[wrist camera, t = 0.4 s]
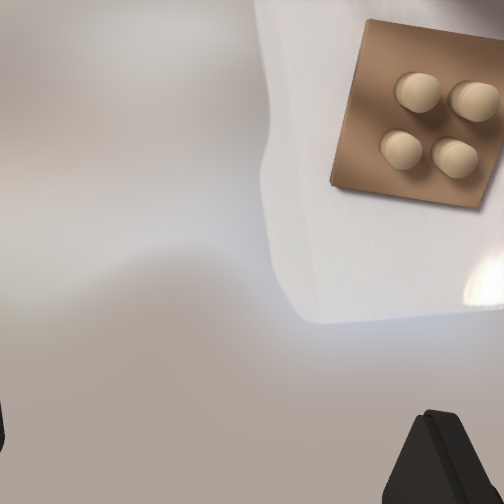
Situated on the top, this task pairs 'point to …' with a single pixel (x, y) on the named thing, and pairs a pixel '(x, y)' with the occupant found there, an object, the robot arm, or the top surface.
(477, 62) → the peg stand
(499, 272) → the top surface
